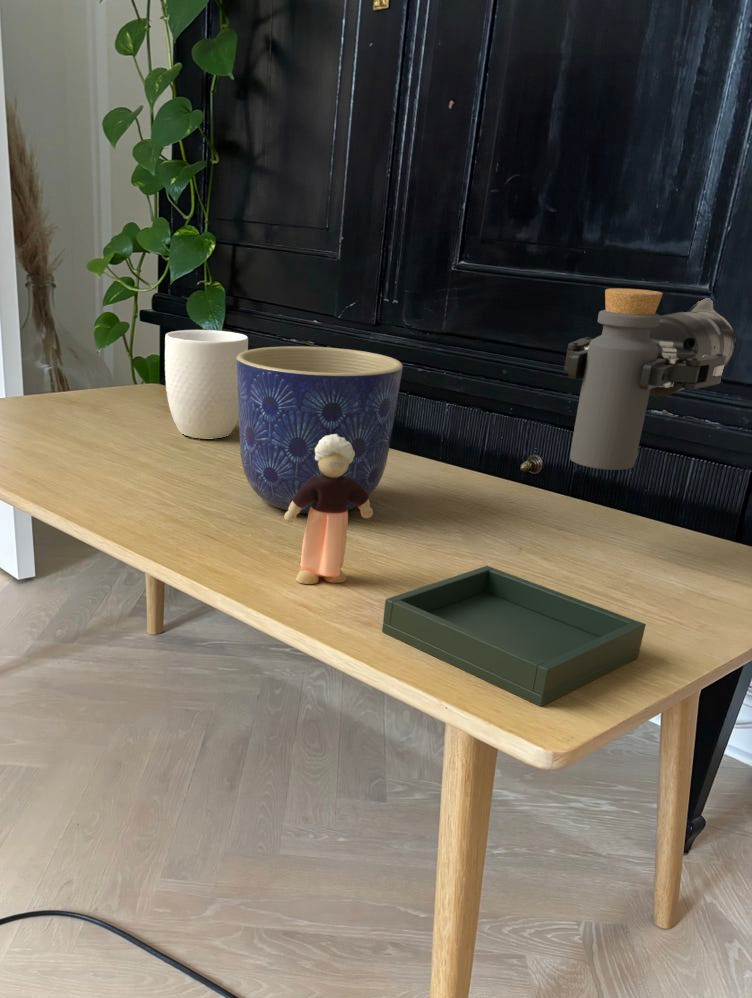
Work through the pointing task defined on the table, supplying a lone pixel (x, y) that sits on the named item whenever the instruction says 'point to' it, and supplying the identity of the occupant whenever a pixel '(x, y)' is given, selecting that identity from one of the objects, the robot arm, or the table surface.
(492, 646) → the tray
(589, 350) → the bottle
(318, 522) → the grandmother figurine
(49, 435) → the table surface
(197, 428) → the mug
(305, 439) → the planter
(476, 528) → the table surface
